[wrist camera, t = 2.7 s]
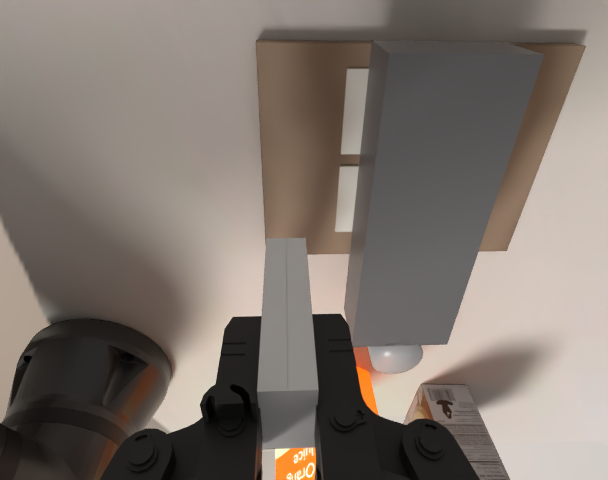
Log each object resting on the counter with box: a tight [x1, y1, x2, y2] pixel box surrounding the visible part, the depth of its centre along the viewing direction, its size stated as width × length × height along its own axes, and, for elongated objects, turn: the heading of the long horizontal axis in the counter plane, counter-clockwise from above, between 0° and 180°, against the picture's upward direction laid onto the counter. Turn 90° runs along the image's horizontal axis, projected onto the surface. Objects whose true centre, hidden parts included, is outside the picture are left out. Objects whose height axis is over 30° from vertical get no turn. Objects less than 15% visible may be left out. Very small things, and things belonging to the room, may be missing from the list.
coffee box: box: [403, 384, 510, 480], centre depth 45 cm, size 9×6×16 cm
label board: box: [256, 40, 586, 254], centre depth 32 cm, size 22×24×3 cm
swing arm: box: [344, 40, 544, 374], centre depth 29 cm, size 8×26×4 cm, turn 179°
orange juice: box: [275, 366, 378, 480], centre depth 39 cm, size 8×9×20 cm
